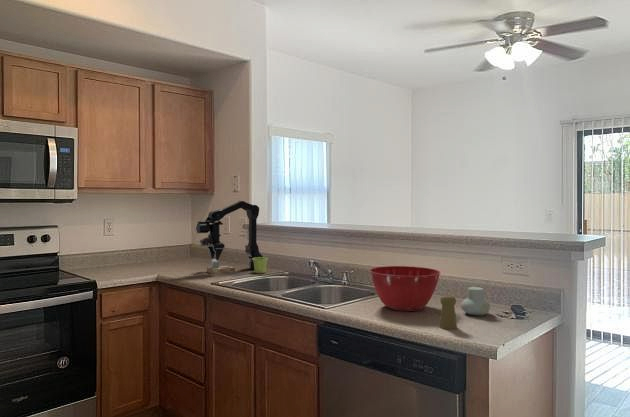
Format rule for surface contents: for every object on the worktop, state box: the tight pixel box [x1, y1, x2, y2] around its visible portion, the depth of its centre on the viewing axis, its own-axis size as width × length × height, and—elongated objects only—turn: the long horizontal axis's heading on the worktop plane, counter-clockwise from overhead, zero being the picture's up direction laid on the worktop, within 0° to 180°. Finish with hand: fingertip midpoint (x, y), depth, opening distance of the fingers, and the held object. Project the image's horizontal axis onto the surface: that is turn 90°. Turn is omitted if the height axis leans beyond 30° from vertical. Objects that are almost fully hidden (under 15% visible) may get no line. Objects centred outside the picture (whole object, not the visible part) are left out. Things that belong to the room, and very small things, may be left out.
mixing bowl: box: [369, 265, 441, 312], centre depth 201 cm, size 28×28×15 cm
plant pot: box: [252, 256, 269, 274], centre depth 288 cm, size 9×9×9 cm
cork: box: [438, 294, 458, 330], centre depth 172 cm, size 6×6×11 cm
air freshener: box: [460, 286, 491, 317], centre depth 191 cm, size 11×8×10 cm
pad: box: [228, 271, 248, 276], centre depth 284 cm, size 9×9×1 cm
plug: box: [210, 258, 220, 269], centre depth 287 cm, size 4×4×8 cm
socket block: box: [206, 265, 236, 275], centre depth 289 cm, size 14×10×3 cm
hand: (214, 259), depth 287 cm, fingers open, 9 cm apart
